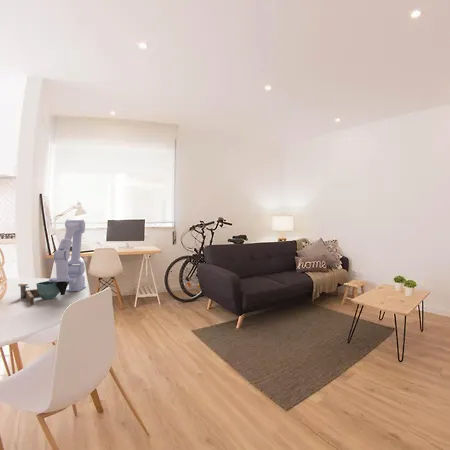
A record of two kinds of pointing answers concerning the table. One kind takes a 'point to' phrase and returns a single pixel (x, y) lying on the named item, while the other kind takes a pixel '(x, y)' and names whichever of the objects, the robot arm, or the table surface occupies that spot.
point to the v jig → (28, 293)
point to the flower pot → (47, 289)
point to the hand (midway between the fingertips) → (62, 294)
